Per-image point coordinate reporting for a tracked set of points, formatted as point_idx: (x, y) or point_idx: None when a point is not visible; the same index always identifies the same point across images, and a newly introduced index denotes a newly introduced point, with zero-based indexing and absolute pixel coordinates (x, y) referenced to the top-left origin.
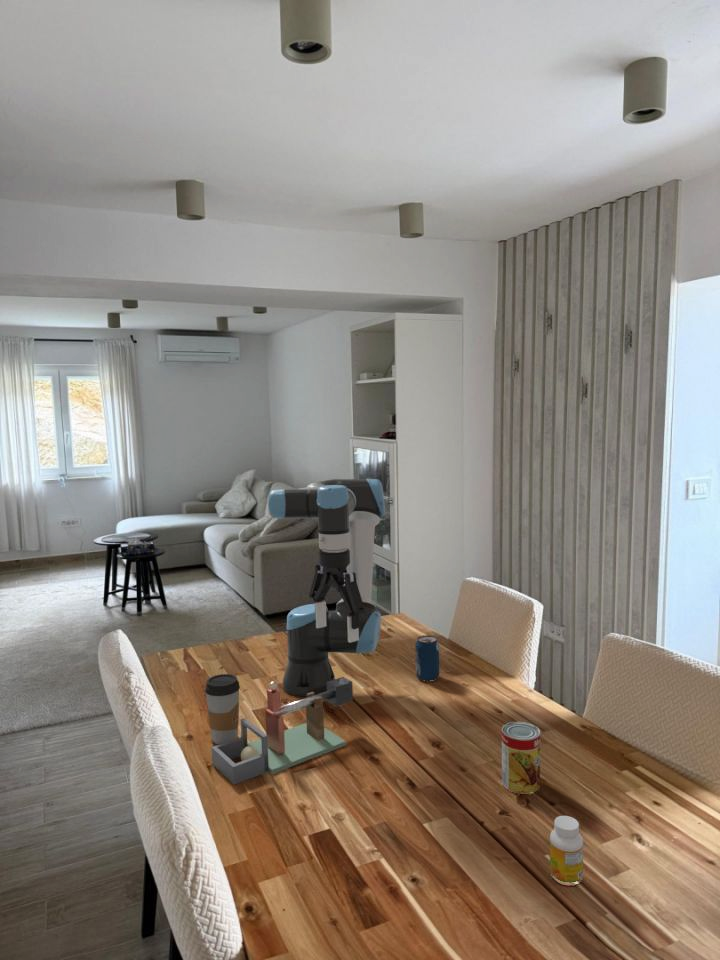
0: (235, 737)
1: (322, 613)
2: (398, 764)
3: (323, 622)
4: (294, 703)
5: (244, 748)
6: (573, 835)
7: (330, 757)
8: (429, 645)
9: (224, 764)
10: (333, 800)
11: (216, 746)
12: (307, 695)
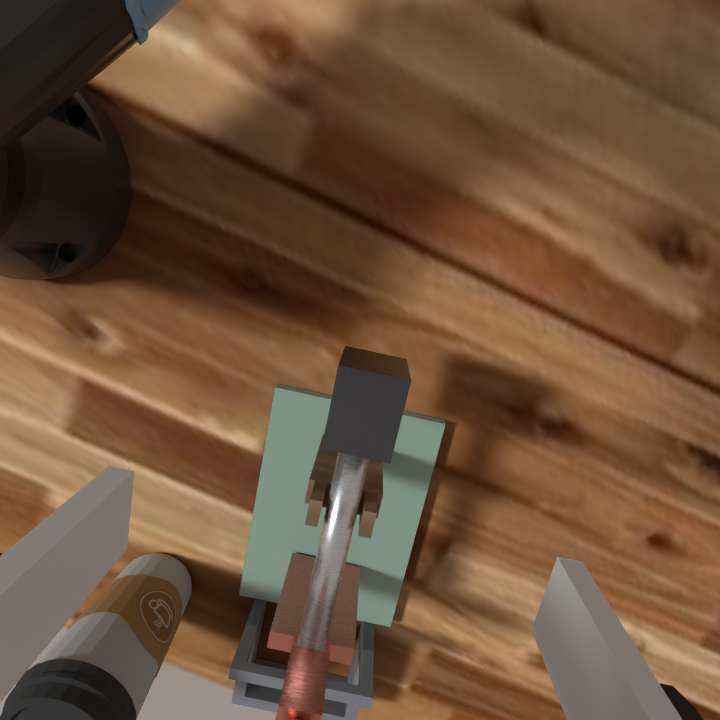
0: (188, 580)
1: (52, 587)
2: (632, 409)
3: (110, 520)
4: (328, 595)
5: None
6: None
7: (452, 489)
8: None
9: None
10: None
11: (238, 695)
12: (312, 523)
